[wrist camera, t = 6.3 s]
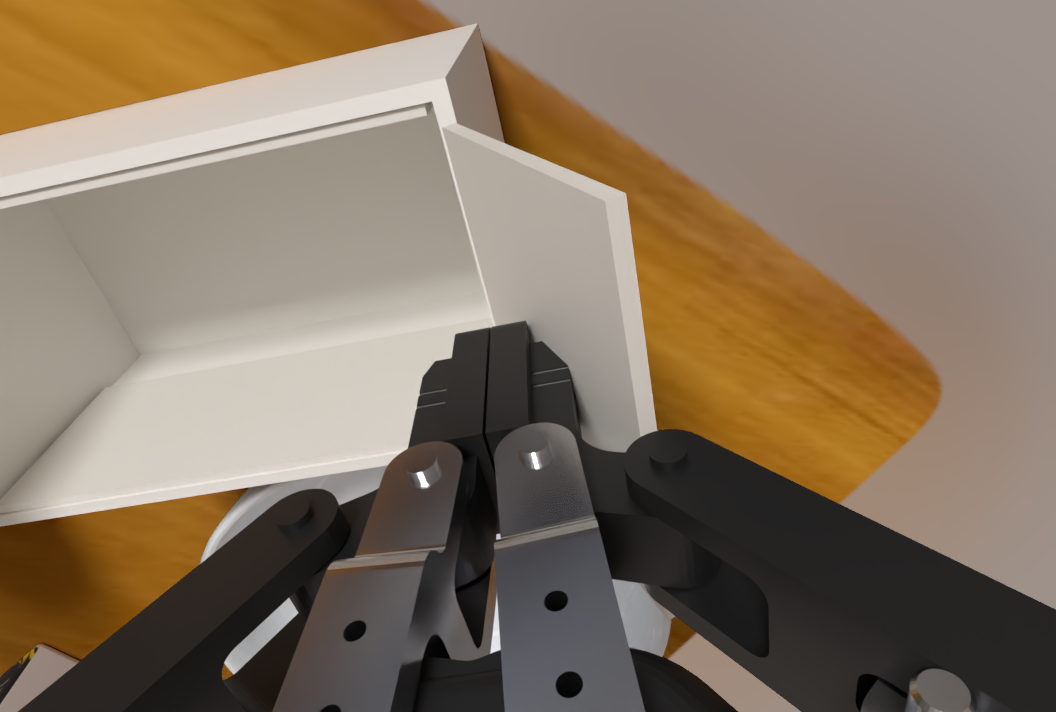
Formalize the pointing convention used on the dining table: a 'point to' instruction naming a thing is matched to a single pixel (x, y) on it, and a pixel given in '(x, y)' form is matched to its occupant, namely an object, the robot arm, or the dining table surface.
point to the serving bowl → (635, 605)
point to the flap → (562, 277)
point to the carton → (235, 279)
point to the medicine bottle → (32, 676)
